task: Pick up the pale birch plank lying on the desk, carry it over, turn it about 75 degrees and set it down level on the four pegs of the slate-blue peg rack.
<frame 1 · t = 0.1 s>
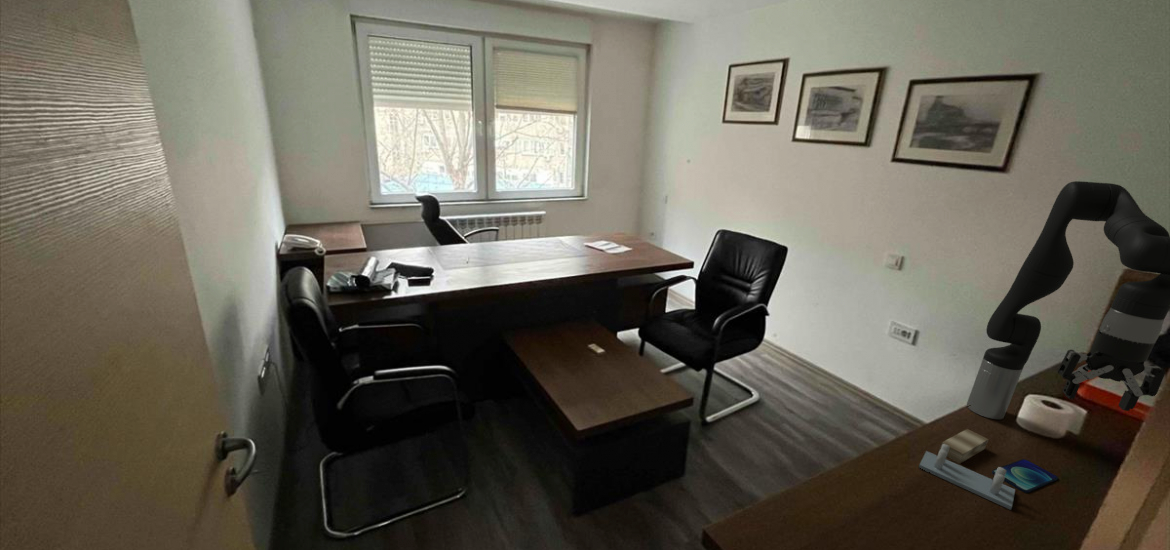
hand: (1095, 402, 96), 29 cm above the table, fingers open, 8 cm apart
birch plank: (961, 451, 125), on the table
smartphone: (1023, 477, 116), on the table
peg rack: (964, 479, 114), on the table
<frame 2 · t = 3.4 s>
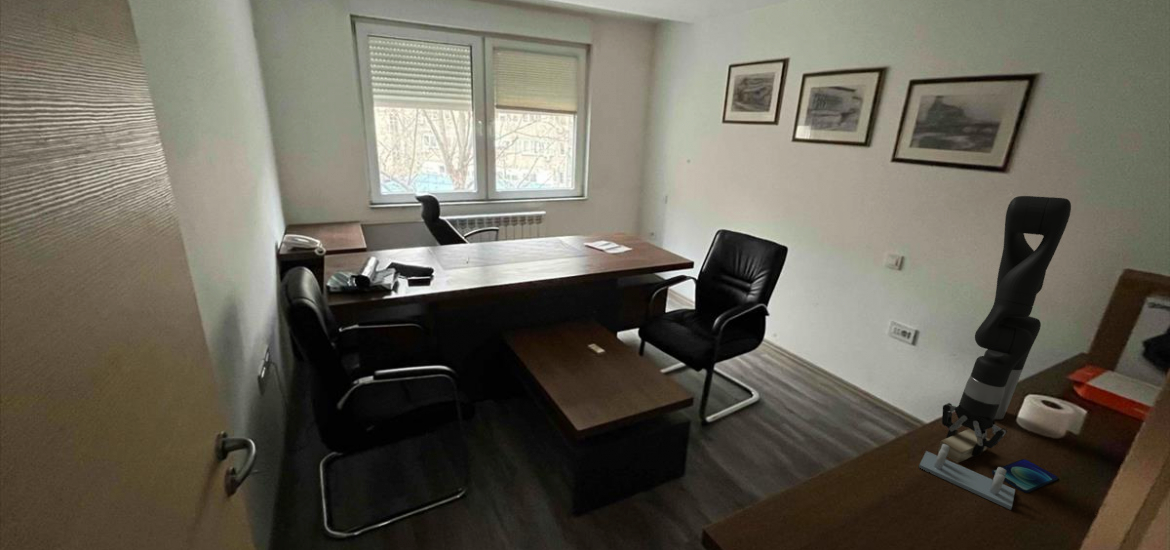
hand: (962, 448, 124), 1 cm above the table, fingers closed on birch plank, 5 cm apart
birch plank: (961, 450, 125), on the table, touching gripper
everything else where it was.
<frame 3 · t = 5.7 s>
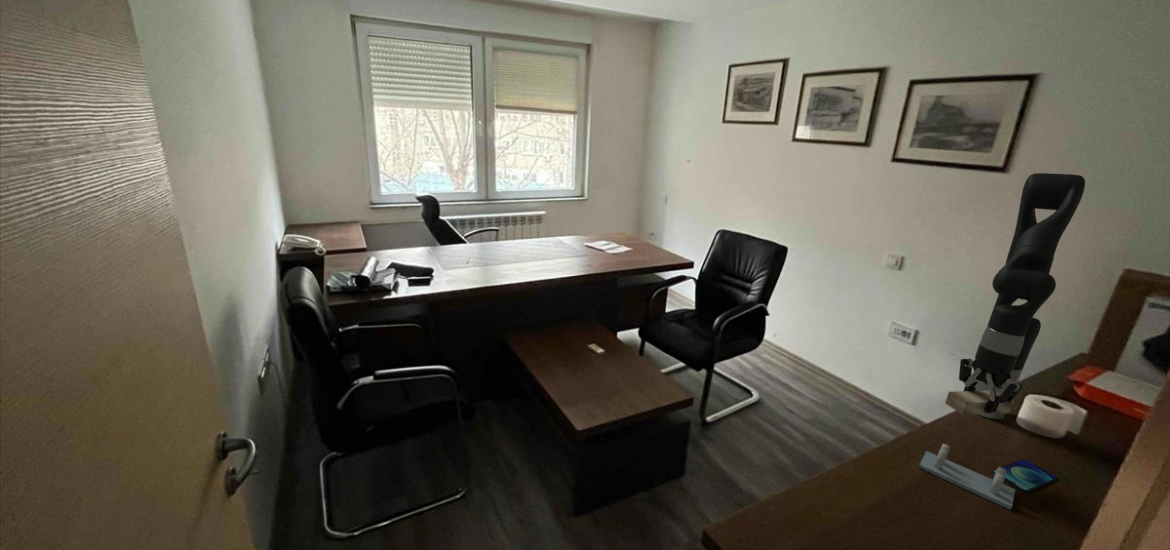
hand: (977, 405, 117), 16 cm above the table, fingers closed on birch plank, 5 cm apart
birch plank: (977, 408, 117), point 15 cm above the table, touching gripper
everything else where it was.
when the fingers open (8 cm above the table, at t = 7.9 s): birch plank drops 1 cm, resting on peg rack.
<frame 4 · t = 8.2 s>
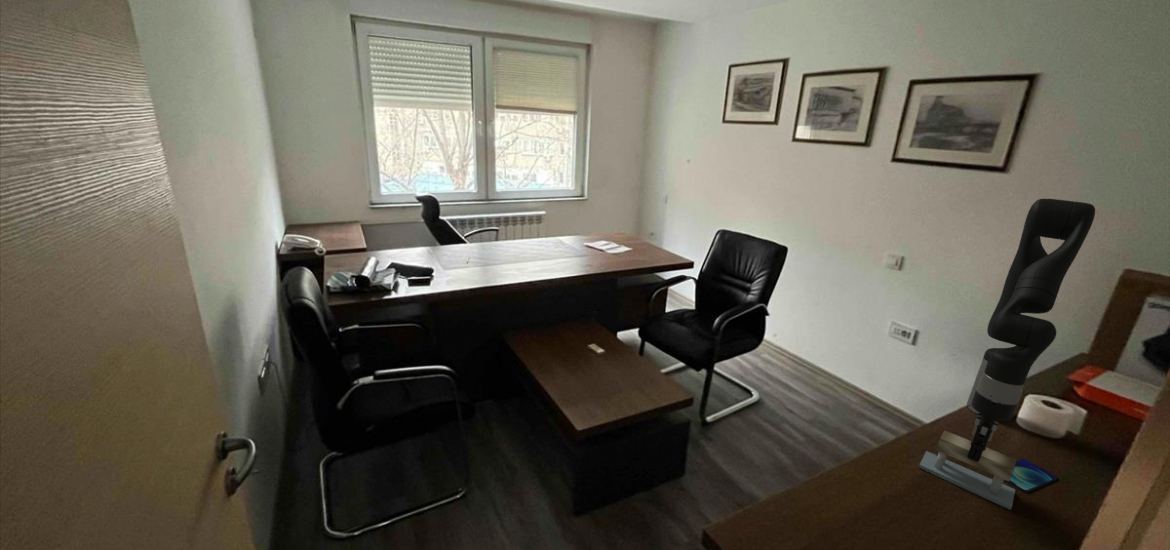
hand: (975, 452, 111), 8 cm above the table, fingers open, 7 cm apart
birch plank: (972, 460, 112), point 6 cm above the table, touching peg rack
everything else where it was.
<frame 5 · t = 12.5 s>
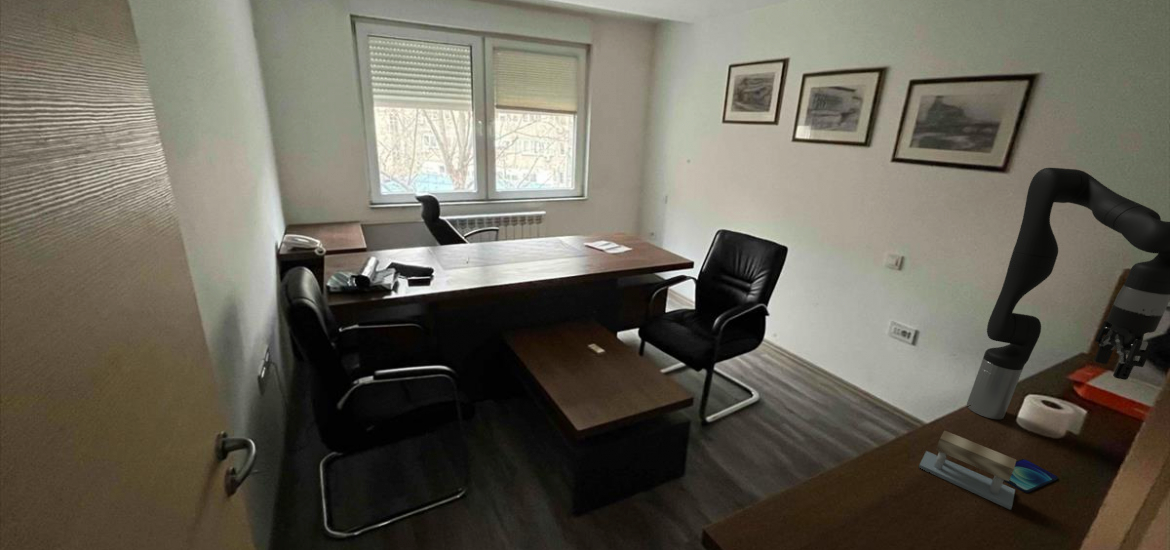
hand: (1109, 370, 109), 30 cm above the table, fingers open, 8 cm apart
nothing on the table moved.
at the end: birch plank 0.1 cm off-centre on the peg rack, point 6.0 cm above the peg rack's base; birch plank tilted 0°; the gripper is holding nothing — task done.
